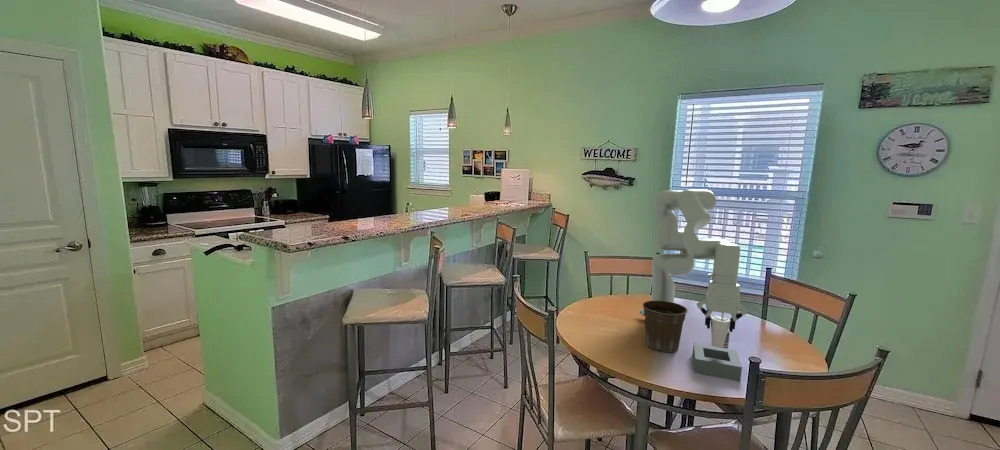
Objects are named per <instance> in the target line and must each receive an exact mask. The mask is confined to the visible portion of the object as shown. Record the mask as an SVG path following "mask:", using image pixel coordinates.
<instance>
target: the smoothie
mask: <svg viewBox="0 0 1000 450" xmlns="http://www.w3.org/2000/svg"><path fill="white" fill-rule="evenodd" d="M724 314H725V313H721V316H720V315H712V316H711V315H710V317H711V321H710V329H711V330H710V331H711V346H714V347H720V348H725V347H724V343H725V339H726V335H727V331H728V329H729V324H731V320H730V319H731V318H728V317H726V316H725V315H724Z"/></svg>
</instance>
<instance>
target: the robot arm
mask: <svg viewBox="0 0 1000 450" xmlns="http://www.w3.org/2000/svg"><path fill="white" fill-rule="evenodd" d="M716 205H717V197H716V195H715V193H713V192H712V191H711V190H709V189H694V188H693V189H684V190H678V189H677V190H676V189H669V190H662V191H659V192H658V193H657V194H656V196H655V199H654V211H655V213H656V219H657V220H656V237H655V238H656V240H655V241H656V246H657V248H658V249H659V250H660V251H665V252H666V251H667V252H669V251H671V252H672V251H674V252H677V251H678V252H679V253H657V254H656V255H653V257H652V259H651V270H652V285H651V297H650V301H654V300H658V301H668V302H673V303H675V294H676V293H675V291H676V285H675V282H674V281H673V279H672V277H671V276H689V275H691V274H692V272H693V270H694V268H695V267H694V266H695V260H701V261H702V260H704V261H705V260H711V261H713V267H712V272H711V273H708V274H707V278H709V279H711V280H709V282H708V286H707V289H706V293H705V294H706V296H705V297H703V299H701V300H700V301H698V302H697V303H696V307H697V308H698V309H699V310H700V311H701V313H702V314H703V315H704V316H705V321H704V326H706V328H707V329H711V314H712V313H721V314H722V313H724V314H729V315H731V317H730V318H729V319H730V320H731V324H729V328H728V329H729V331H730V333H733V330H735V329H736V322H737V321H738V320H739V319H741V318H742V317H743V316H745V315H747V314H748V313H749V312H748V309H746V307H745V306H744V305H743V304H742V303H741V288H740V284H738V276H739V266H740V257H741V247H740V245H739V244H737V243H731V242H730V241H728V239H724V238H699V237H698V236H697V233H696V232H697V231H699V230H702V229H703V228H705V227H707V226H708V224H709V223H710V222H711V220H712V217H711V214H710V212H709V211H712V210H714V209H715V207H716ZM674 211H680V212H681V215H683V218H684V220H685V221H686V225H685V226H684V229H682V228H681V229H678V228H679V227H678V225H679V220H678V216H677V215H676V213H675V212H674ZM704 305H705V307H704ZM639 314H640V315H641V316H643V317H645V315H644V309H639Z"/></svg>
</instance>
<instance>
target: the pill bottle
mask: <svg viewBox="0 0 1000 450" xmlns="http://www.w3.org/2000/svg"><path fill="white" fill-rule="evenodd" d="M730 333H731V332H730V330H729V328H728V331H727V335H726V339H725V343H724V347H723V348H727V347H729V344H730V343H729V341H730Z"/></svg>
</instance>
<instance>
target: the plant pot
mask: <svg viewBox="0 0 1000 450" xmlns="http://www.w3.org/2000/svg"><path fill="white" fill-rule="evenodd" d="M642 307H643V310H644V315H645V316H644V324H645V325H644V326H645V327H644V331H645V333H644V334H645V345H646V347H648V348H650V349H652V350H654V351H660V352H661V353H674V352H677V351H678V350H679V348H680V342H681V336H682V331H683V325H684V323H685V319H686V314H687V313H688V308H687V307H685V306H684V305H682V304H681V303H680V304H679V303H677V302H674V303H673V302H668V301H658V300H654V301H651V300H647V301H644V302H643V303H642Z"/></svg>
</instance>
